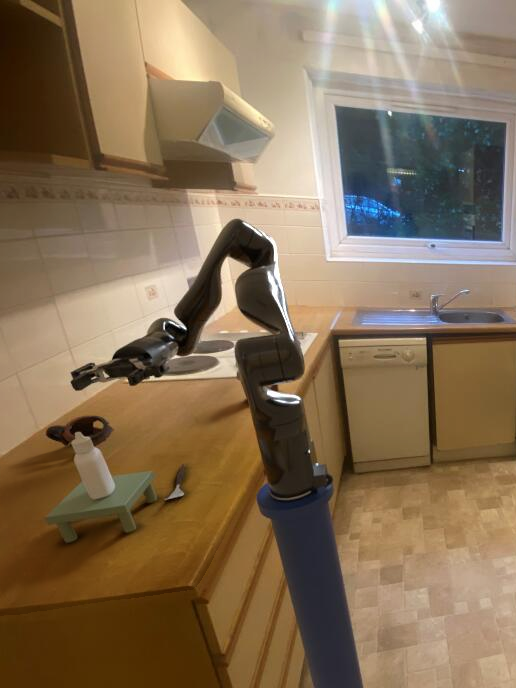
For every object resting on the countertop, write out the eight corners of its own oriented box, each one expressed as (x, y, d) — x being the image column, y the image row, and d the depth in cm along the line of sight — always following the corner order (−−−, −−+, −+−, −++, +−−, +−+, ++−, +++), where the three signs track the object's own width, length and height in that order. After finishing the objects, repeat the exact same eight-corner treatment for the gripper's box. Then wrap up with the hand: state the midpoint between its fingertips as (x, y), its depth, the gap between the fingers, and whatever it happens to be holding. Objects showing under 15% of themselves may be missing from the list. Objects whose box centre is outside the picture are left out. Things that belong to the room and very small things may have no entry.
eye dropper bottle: (77, 502, 75) (49, 442, 70) (100, 483, 80) (76, 425, 75) (105, 500, 75) (79, 440, 71) (126, 481, 80) (104, 424, 76)
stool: (162, 495, 86) (152, 470, 84) (135, 533, 76) (124, 505, 74) (94, 505, 83) (83, 479, 81) (58, 545, 74) (44, 517, 71)
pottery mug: (120, 432, 111) (116, 411, 106) (111, 463, 105) (106, 443, 100) (55, 431, 104) (47, 409, 99) (41, 464, 99) (32, 443, 94)
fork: (191, 464, 97) (188, 456, 96) (182, 504, 84) (179, 495, 83) (177, 467, 96) (174, 459, 95) (165, 508, 83) (162, 499, 82)
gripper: (98, 343, 92) (47, 368, 77) (176, 338, 96) (142, 361, 81) (110, 376, 95) (64, 406, 80) (186, 369, 99) (154, 397, 84)
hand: (103, 383), depth 81 cm, fingers open, 8 cm apart
